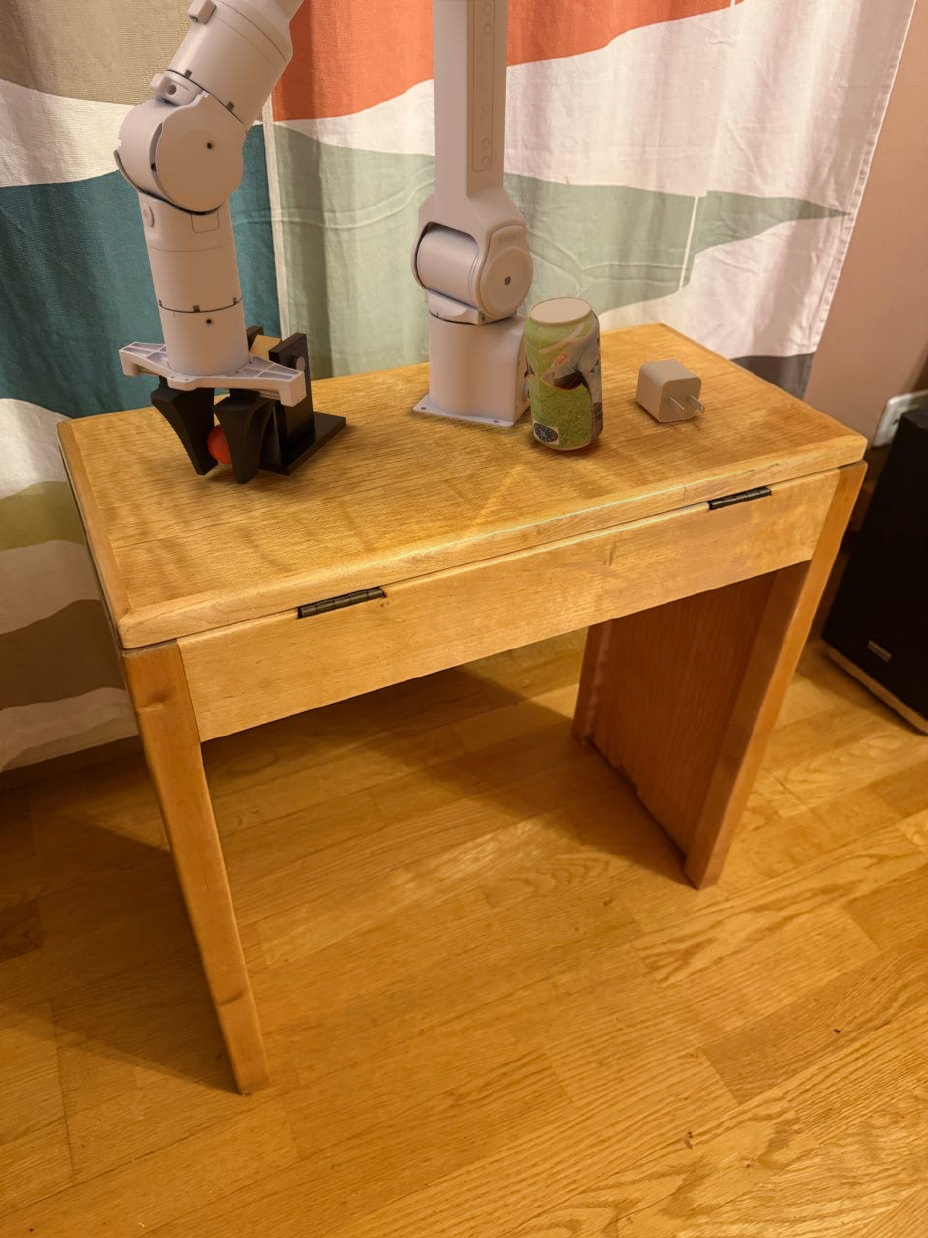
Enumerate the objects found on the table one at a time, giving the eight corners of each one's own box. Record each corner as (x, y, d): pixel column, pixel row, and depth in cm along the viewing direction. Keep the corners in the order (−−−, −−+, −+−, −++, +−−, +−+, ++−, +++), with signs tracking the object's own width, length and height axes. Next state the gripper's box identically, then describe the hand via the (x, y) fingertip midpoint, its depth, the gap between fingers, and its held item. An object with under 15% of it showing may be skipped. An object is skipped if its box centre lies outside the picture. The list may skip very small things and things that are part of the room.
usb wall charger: (672, 399, 87) (679, 358, 84) (710, 429, 82) (718, 387, 79) (634, 403, 86) (640, 362, 83) (669, 435, 80) (677, 392, 78)
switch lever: (246, 475, 71) (229, 453, 68) (211, 467, 72) (193, 445, 69) (298, 361, 75) (284, 335, 72) (264, 355, 76) (249, 329, 73)
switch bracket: (289, 480, 73) (277, 368, 67) (204, 461, 75) (185, 352, 70) (347, 429, 80) (339, 324, 75) (267, 414, 83) (255, 311, 77)
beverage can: (615, 446, 79) (633, 306, 71) (547, 467, 75) (558, 322, 68) (570, 419, 83) (582, 284, 76) (503, 437, 80) (510, 299, 72)
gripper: (75, 302, 62) (117, 478, 71) (260, 332, 58) (281, 516, 67) (140, 273, 68) (172, 441, 76) (313, 300, 64) (327, 473, 72)
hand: (227, 473), depth 72 cm, fingers closed on switch lever, 3 cm apart
